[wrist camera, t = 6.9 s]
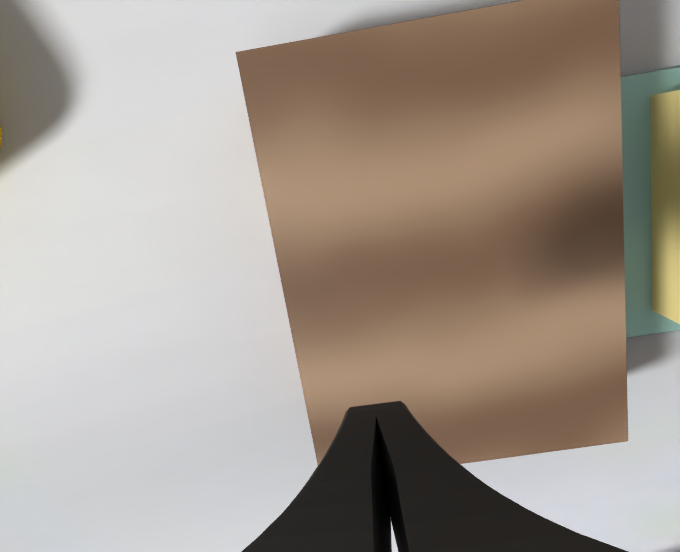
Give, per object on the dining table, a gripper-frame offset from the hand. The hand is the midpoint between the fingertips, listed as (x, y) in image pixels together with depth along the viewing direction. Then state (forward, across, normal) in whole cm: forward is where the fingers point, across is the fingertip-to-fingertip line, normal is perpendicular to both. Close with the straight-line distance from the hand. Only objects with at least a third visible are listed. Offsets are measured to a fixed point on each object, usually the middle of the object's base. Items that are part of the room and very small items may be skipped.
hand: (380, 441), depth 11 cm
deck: (+10, -3, -2) cm, 11 cm away
